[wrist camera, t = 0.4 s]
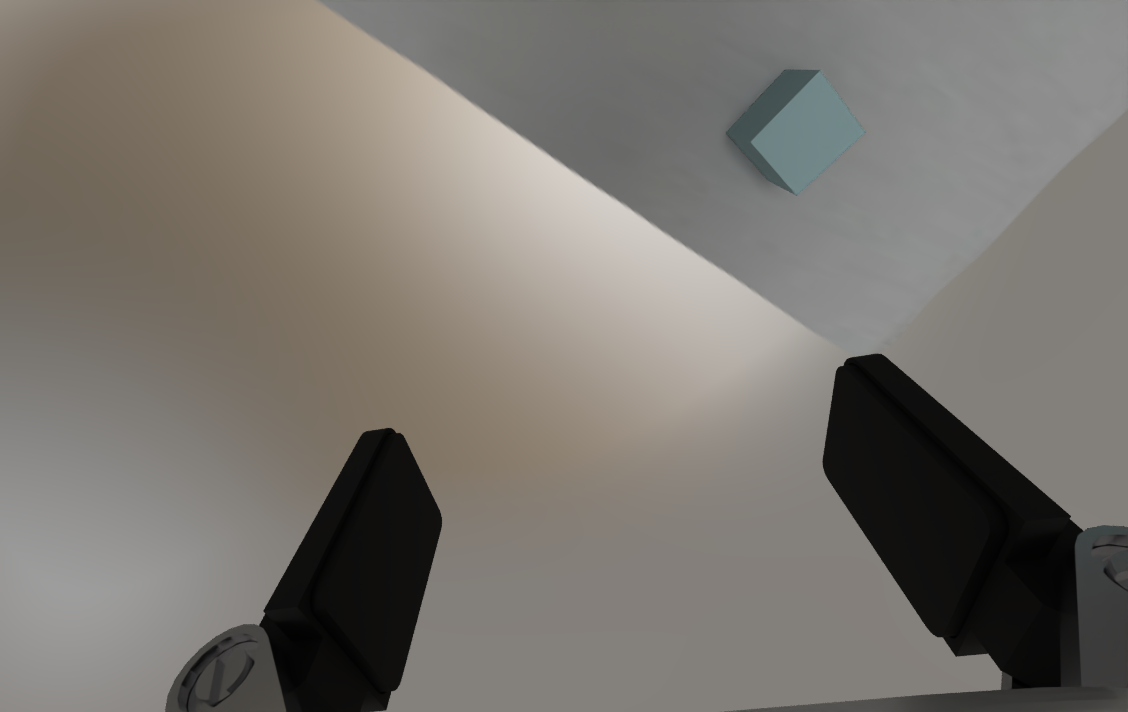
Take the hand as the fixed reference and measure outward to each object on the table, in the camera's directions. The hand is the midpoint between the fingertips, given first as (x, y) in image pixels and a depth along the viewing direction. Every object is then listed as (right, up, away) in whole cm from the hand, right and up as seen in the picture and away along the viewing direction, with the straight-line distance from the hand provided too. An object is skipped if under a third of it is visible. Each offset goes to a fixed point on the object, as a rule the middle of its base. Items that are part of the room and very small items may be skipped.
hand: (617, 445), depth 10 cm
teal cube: (+14, +18, +23) cm, 32 cm away
